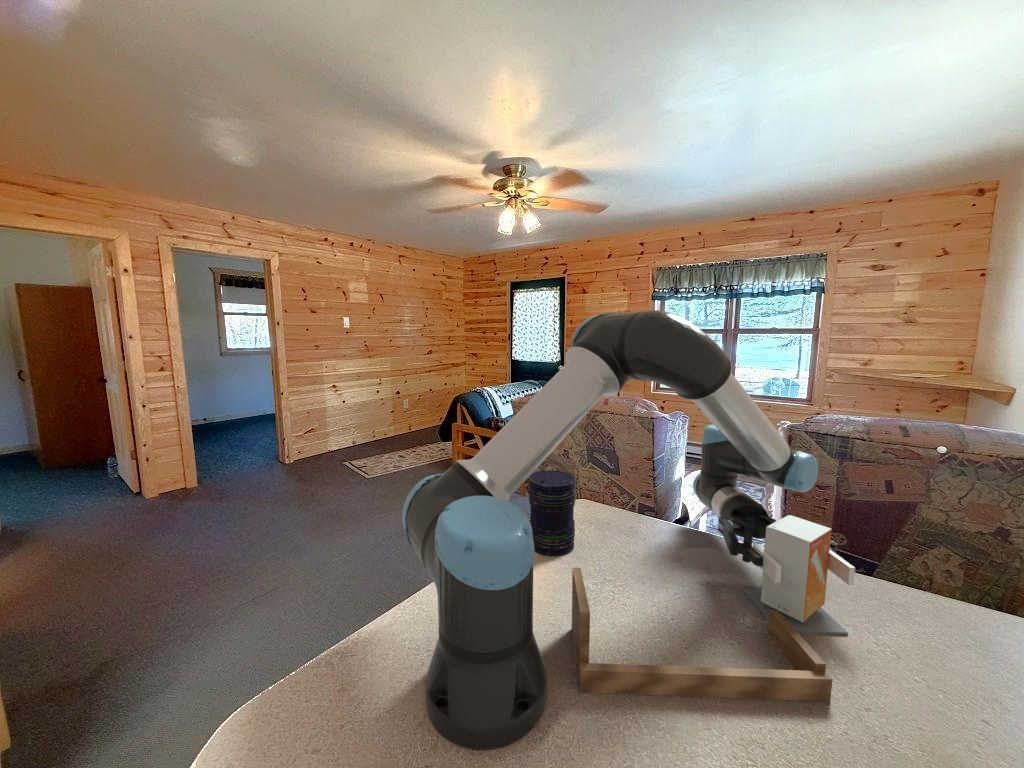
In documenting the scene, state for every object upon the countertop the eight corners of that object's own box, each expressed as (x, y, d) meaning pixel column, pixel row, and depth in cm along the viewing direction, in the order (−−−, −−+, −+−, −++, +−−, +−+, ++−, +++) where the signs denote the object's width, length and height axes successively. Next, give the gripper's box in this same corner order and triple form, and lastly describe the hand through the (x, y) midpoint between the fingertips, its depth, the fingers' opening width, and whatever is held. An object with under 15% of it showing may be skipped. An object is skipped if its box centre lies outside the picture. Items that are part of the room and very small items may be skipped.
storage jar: (550, 529, 95) (550, 467, 93) (584, 545, 87) (585, 478, 86) (519, 544, 88) (519, 477, 86) (553, 562, 81) (553, 490, 79)
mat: (779, 633, 61) (779, 630, 61) (744, 591, 71) (744, 589, 71) (847, 635, 61) (848, 632, 61) (803, 593, 71) (803, 591, 71)
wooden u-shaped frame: (580, 692, 51) (581, 618, 50) (571, 628, 62) (572, 567, 61) (830, 701, 50) (837, 626, 49) (775, 635, 61) (780, 572, 60)
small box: (804, 624, 61) (810, 542, 60) (759, 601, 66) (764, 525, 65) (826, 604, 65) (833, 527, 64) (782, 585, 71) (788, 513, 69)
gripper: (794, 530, 83) (890, 600, 61) (682, 528, 84) (736, 596, 62) (797, 495, 82) (896, 553, 60) (683, 493, 83) (739, 549, 61)
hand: (814, 575), depth 61 cm, fingers closed on small box, 10 cm apart
